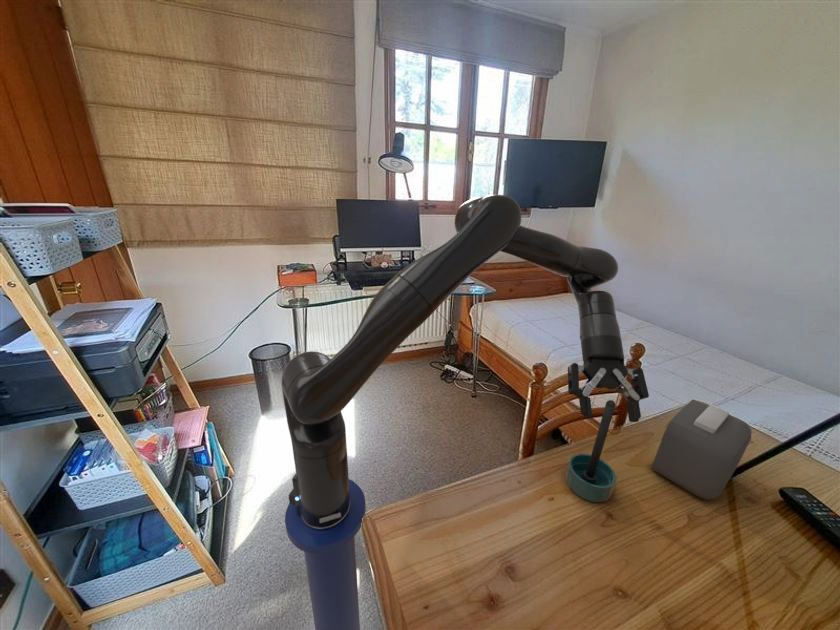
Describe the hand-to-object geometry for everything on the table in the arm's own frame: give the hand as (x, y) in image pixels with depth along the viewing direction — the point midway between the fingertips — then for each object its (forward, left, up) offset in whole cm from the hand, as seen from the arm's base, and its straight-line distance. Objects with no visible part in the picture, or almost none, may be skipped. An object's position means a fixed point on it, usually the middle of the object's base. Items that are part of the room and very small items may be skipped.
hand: (611, 419), depth 64 cm
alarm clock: (+24, +12, -19) cm, 32 cm away
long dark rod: (0, +1, -18) cm, 18 cm away
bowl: (0, +1, -18) cm, 19 cm away
